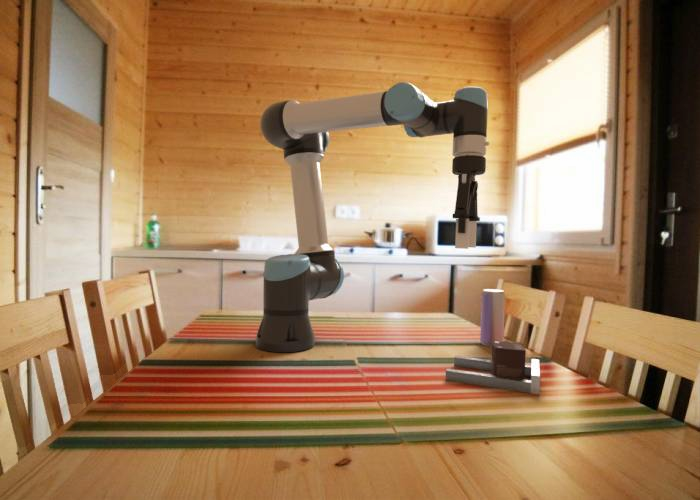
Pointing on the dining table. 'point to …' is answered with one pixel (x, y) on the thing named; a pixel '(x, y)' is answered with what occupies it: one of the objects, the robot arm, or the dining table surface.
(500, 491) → the dining table surface
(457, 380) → the channel
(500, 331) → the beverage can
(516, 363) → the box
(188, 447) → the dining table surface
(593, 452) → the dining table surface
